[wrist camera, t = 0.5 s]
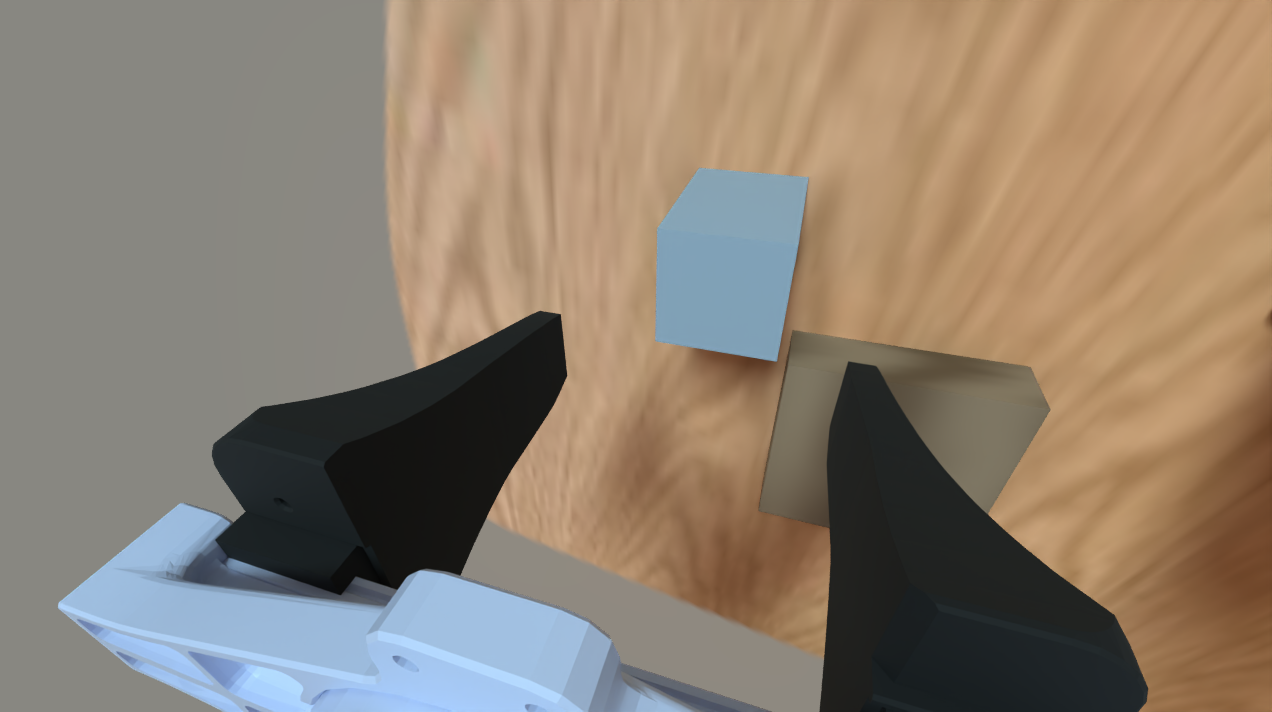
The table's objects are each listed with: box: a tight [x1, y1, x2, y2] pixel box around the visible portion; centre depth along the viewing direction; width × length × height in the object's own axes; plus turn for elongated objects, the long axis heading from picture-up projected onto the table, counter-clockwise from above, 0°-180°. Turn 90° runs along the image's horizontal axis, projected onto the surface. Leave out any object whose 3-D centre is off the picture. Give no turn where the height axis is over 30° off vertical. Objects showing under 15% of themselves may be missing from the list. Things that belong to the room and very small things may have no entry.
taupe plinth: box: [759, 330, 1050, 528], centre depth 24 cm, size 9×9×3 cm
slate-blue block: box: [655, 168, 809, 362], centre depth 19 cm, size 4×4×6 cm
